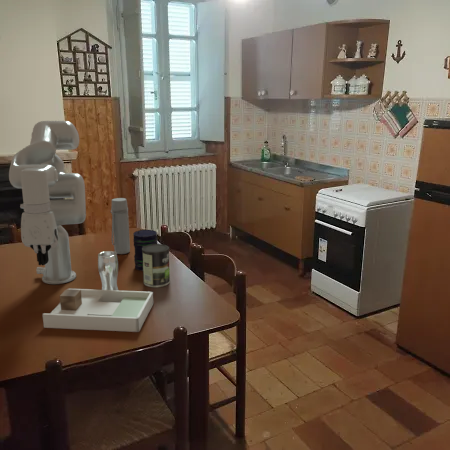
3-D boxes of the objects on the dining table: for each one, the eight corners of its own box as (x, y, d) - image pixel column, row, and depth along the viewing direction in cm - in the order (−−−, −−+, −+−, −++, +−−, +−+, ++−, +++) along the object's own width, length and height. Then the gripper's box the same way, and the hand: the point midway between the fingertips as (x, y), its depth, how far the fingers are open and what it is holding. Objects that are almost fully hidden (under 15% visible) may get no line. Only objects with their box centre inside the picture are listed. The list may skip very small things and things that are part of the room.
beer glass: (102, 297, 159) (99, 258, 155) (98, 290, 165) (95, 252, 161) (121, 294, 162) (119, 255, 158) (117, 287, 168) (114, 249, 164)
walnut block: (61, 309, 144) (59, 295, 143) (67, 303, 149) (66, 289, 148) (76, 310, 144) (74, 296, 143) (82, 303, 149) (80, 289, 147)
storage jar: (160, 263, 193) (159, 230, 189) (155, 271, 184) (153, 236, 180) (138, 262, 194) (136, 229, 190) (131, 270, 185) (129, 236, 181)
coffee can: (173, 278, 177) (172, 244, 173) (165, 288, 167) (164, 253, 163) (149, 276, 179) (147, 242, 175) (139, 286, 169) (137, 251, 165)
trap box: (44, 327, 138) (42, 314, 137) (69, 300, 157) (68, 288, 156) (138, 331, 136) (138, 318, 135) (153, 303, 155) (153, 291, 154)
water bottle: (122, 248, 211) (119, 197, 204) (134, 251, 207) (131, 199, 200) (107, 253, 204) (103, 200, 197) (118, 257, 200) (115, 203, 193)
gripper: (7, 210, 135) (14, 267, 140) (55, 211, 134) (61, 268, 139) (20, 205, 142) (26, 259, 147) (65, 206, 141) (70, 260, 146)
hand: (43, 263), depth 143 cm, fingers closed
